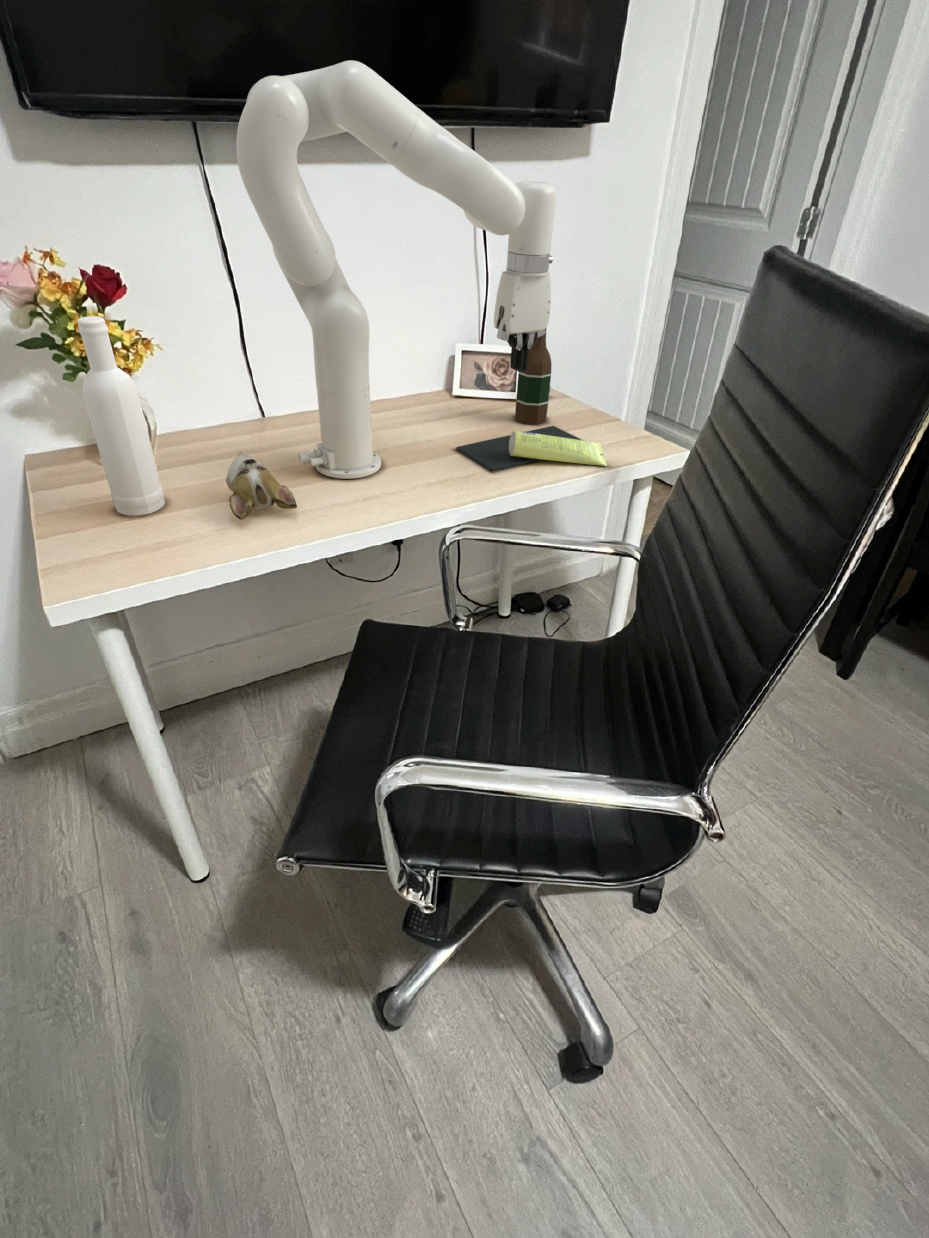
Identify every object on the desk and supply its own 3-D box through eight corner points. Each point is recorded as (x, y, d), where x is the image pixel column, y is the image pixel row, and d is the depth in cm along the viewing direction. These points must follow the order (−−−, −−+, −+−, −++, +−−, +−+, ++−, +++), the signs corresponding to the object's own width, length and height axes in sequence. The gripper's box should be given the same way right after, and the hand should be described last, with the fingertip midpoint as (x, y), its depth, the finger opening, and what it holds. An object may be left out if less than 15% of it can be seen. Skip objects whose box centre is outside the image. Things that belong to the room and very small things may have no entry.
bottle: (150, 491, 121) (103, 310, 104) (175, 505, 118) (130, 319, 100) (106, 506, 116) (49, 318, 99) (131, 521, 112) (76, 328, 95)
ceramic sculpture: (268, 438, 120) (297, 474, 110) (274, 482, 126) (302, 521, 116) (206, 448, 116) (231, 487, 106) (215, 494, 121) (239, 535, 111)
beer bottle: (508, 414, 160) (516, 304, 146) (539, 412, 162) (550, 303, 148) (520, 426, 154) (530, 312, 140) (552, 424, 156) (565, 311, 142)
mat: (492, 472, 133) (492, 469, 133) (456, 449, 142) (456, 446, 142) (592, 447, 145) (592, 444, 145) (553, 428, 154) (553, 425, 154)
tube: (507, 461, 138) (598, 471, 142) (513, 456, 134) (607, 466, 137) (509, 433, 138) (600, 443, 142) (515, 427, 133) (609, 437, 137)
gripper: (547, 259, 128) (536, 360, 139) (481, 262, 121) (475, 369, 131) (573, 265, 123) (560, 370, 134) (506, 269, 116) (498, 379, 126)
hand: (518, 369), depth 132 cm, fingers closed
